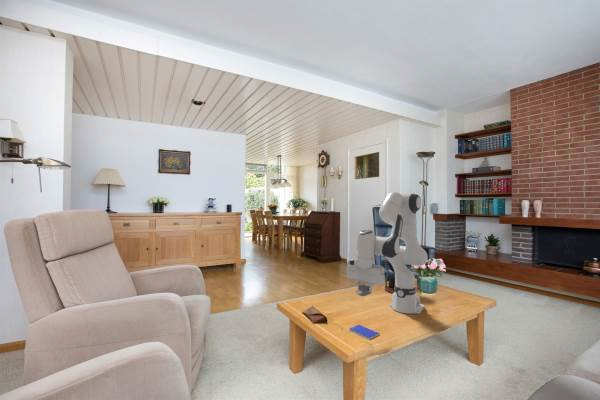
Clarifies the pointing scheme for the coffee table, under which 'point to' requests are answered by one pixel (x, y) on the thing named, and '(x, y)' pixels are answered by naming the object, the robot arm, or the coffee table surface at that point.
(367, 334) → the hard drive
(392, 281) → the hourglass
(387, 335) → the coffee table surface
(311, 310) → the sunglasses case
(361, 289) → the plug
